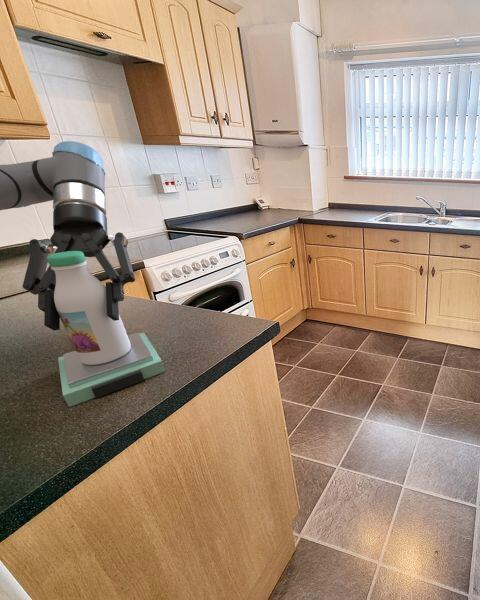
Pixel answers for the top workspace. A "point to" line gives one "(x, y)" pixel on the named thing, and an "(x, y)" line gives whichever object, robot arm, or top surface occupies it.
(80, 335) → the milk bottle
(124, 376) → the scale
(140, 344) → the scale pan
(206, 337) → the top surface
